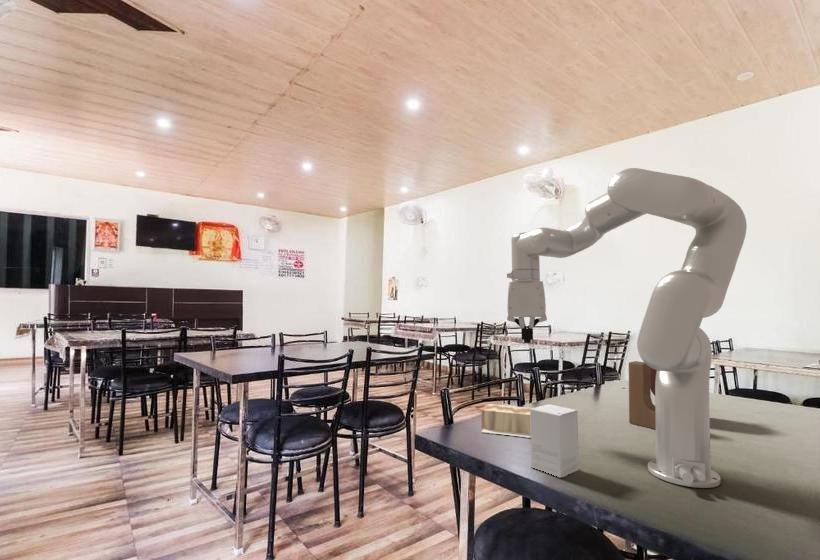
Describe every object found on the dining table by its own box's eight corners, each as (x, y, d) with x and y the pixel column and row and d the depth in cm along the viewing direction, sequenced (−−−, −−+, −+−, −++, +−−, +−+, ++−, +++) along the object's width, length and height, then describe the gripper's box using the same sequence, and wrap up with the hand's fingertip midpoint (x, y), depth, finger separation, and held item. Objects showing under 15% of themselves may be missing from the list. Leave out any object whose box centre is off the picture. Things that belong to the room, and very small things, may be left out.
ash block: (541, 416, 113) (481, 410, 118) (541, 435, 113) (481, 428, 118) (543, 409, 120) (486, 403, 126) (543, 426, 120) (486, 420, 125)
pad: (535, 439, 110) (535, 437, 110) (481, 432, 115) (481, 431, 115) (538, 424, 123) (538, 423, 123) (489, 419, 128) (489, 418, 128)
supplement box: (579, 470, 90) (579, 409, 91) (560, 479, 85) (560, 415, 86) (549, 459, 96) (548, 403, 96) (529, 467, 91) (529, 407, 92)
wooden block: (668, 428, 121) (667, 364, 122) (661, 431, 119) (660, 365, 120) (635, 421, 128) (635, 360, 129) (628, 423, 126) (627, 362, 127)
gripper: (497, 276, 119) (498, 343, 118) (553, 275, 114) (555, 344, 112) (500, 278, 126) (502, 341, 125) (554, 277, 121) (556, 342, 120)
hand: (527, 342), depth 119 cm, fingers closed
